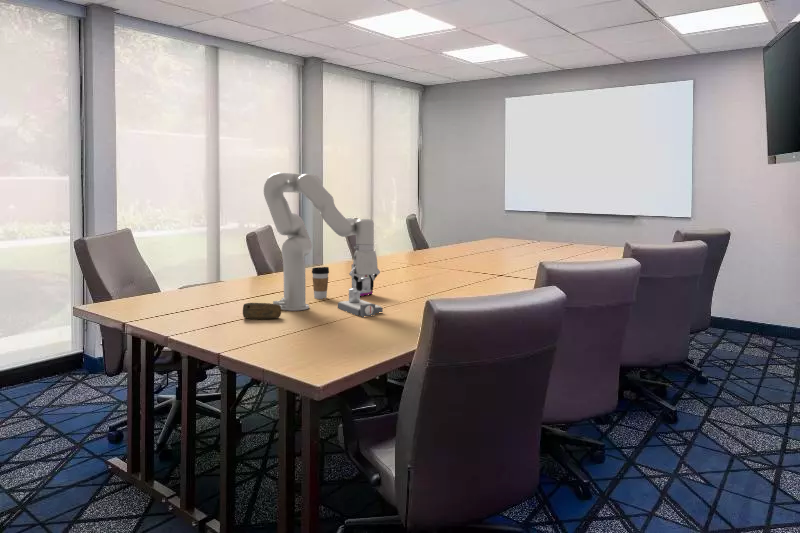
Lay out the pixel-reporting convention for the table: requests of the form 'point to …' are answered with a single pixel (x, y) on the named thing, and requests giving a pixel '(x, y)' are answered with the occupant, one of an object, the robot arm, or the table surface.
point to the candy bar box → (355, 284)
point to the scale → (360, 308)
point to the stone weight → (261, 311)
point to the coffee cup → (320, 282)
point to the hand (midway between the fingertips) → (364, 289)
